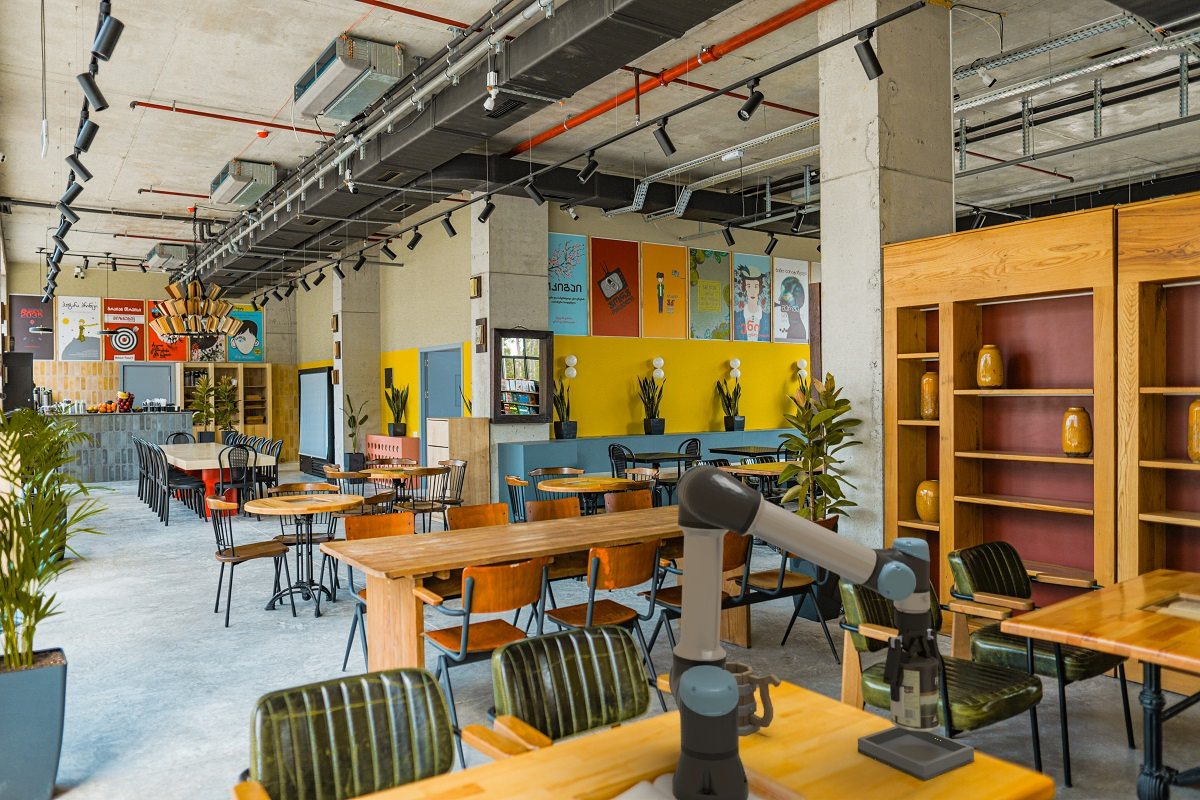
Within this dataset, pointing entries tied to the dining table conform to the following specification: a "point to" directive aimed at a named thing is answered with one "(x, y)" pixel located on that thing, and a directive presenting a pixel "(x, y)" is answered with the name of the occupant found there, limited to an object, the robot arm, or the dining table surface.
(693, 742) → the robot arm
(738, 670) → the tankard
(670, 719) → the dining table surface
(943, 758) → the tray
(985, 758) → the dining table surface
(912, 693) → the coffee can
